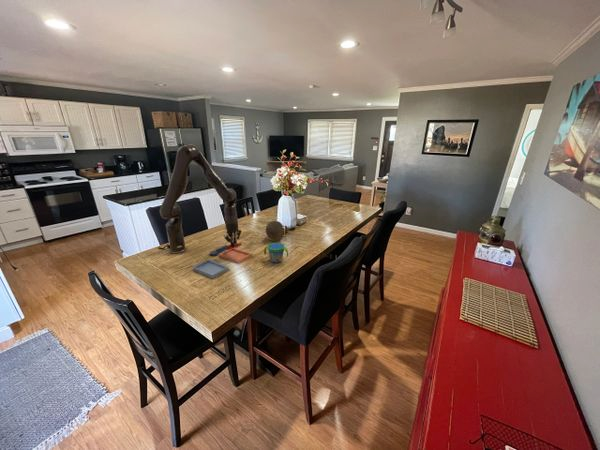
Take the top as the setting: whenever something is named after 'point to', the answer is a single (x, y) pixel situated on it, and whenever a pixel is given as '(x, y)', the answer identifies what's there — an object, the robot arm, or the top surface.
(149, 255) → the top surface
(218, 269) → the blue tray
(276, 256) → the snack cup
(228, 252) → the red tray
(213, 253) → the blue spoon
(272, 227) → the brown ball
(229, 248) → the red spoon
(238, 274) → the top surface
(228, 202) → the robot arm
